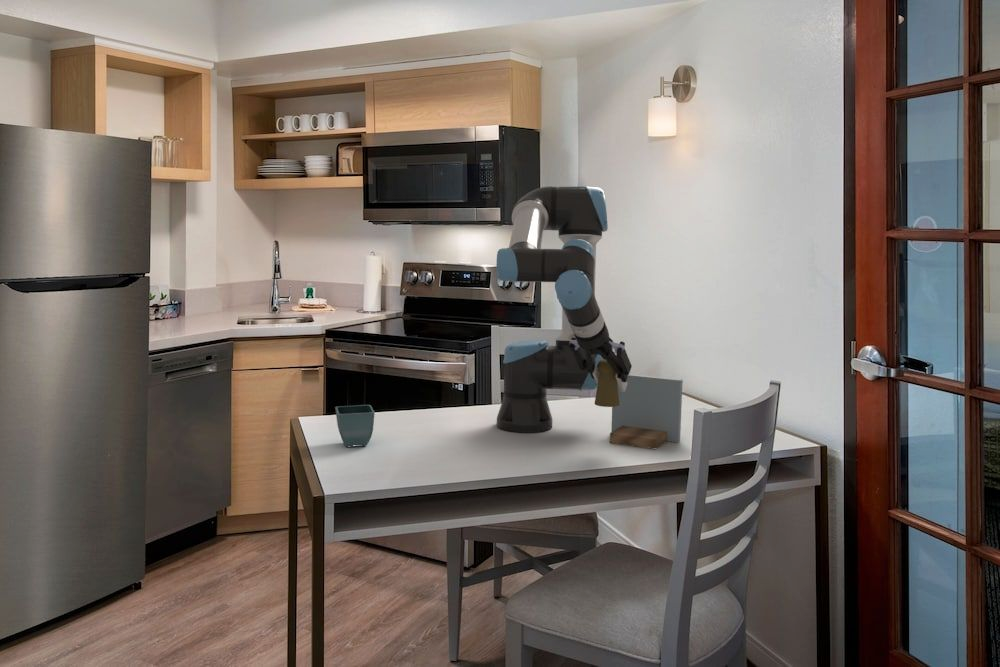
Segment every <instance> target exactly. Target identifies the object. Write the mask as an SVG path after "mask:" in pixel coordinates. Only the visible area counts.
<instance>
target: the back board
mask: <svg viewBox="0 0 1000 667" xmlns="http://www.w3.org/2000/svg"><path fill="white" fill-rule="evenodd" d="M627 376H628V378H627V383H628V384H627V387H626V390H625V392H621V389H620V387H619V384H618V382H617V384H618V394H619V406H616V407H611V432H613V431H614V430H616V429H618V428H619V427H621V426H628V427H636V428H644V429H651V430H659V431H667V441H666V442H670V441H672V442H671V443H677V442H678V443H680V442H681V429H682V428H681V427H682V406H683V405H682V403H683V402H682V401H683V400H682V399H683V381H684V380H683V379H681V378H671V377H662V376H651V375H650V376H649V375H642V374H641V375H640V374H632V373H631V374H630V373H629V375H627ZM611 432H610V433H611ZM679 441H680V442H679Z"/></svg>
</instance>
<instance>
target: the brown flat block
mask: <svg viewBox="0 0 1000 667" xmlns="http://www.w3.org/2000/svg"><path fill="white" fill-rule="evenodd" d="M610 442H612V443H611V444H616V443H619V444H618V445H623V444H627V445H626V446H630V445H634V446H633V447H637V446H641V447H640V448H644V447H650V448H649V449H651V448H657V447H658V448H659V447H661V446H662V445H663V444H665V443H667V442H668V441H667V431H659V430H651V429H644V428H636V427H628V426H621V427H619V428H618V429H616V430H614V431H613V432H610V433H609V443H610ZM664 442H665V443H664ZM661 444H662V445H661ZM660 445H661V446H660ZM658 448H657V449H658Z"/></svg>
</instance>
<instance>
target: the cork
mask: <svg viewBox="0 0 1000 667" xmlns="http://www.w3.org/2000/svg"><path fill="white" fill-rule="evenodd" d="M597 368H598V371H599V379H598V385H597V388H596V392H595V399H594V405H595V406H596V407H597V406H598V407H605V408H612V407H616V406H619V394H618V384H617V379H616V377H615V376H616V372H615V371H614V369H613V368H612V367H611V365H610V364H609V363H608V362H607V360H606V359H605V360H604V359H603V360H600V361H599V362H598V365H597Z"/></svg>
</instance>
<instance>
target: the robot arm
mask: <svg viewBox="0 0 1000 667" xmlns="http://www.w3.org/2000/svg"><path fill="white" fill-rule="evenodd" d="M511 222H512V225H513V228H512V231H511V235H510V236H511V237H510V241H509V246H508V247H506V248H500V249H498V251H497V254H496V263H495V264H496V268H495V269H496V277H497V279H498V280H499V281H503V282H511V283H515V282H516V283H517V282H518V283H519V282H520V283H521V282H522V283H525V282H526V283H528V282H529V283H535V282H536V283H554V290H555V294H556V299H557V300H558V302H559V304H560V305H561V308H562V311H561V312H562V313H561V315H562V316H561V333H560V335H558V336H557V338H556V339H555V345H549V343H548V340H546V339H529V340H527V339H526V340H521V341H515V342H512V343H510V344H508V345H506V347H505V348H504V356H503V357H504V358H503V361H502V362H503V395H502V396H503V398H502V401H501V404H500V406H499V407H500V408H499V410H498V412H497V416H496V427H497V428H499V429H500V430H503V431H508V432H515V433H539V432H545V431H548V430H551V429H553V415H552V413H551V410H550V407H549V403H548V400H547V391H548V390H566V391H567V390H569V391H571V390H573V391H594V390H597V385H598V379H599V371H598V368H597V365H598V362H599V361H600V360H603V359H604V360H605V359H606V360H607V362H608V363H609V364H610V365H611V367H612V368H613V369H614V371H615V372H616V376H615V377H616V379H617V382H618V384H619V387H620V389H621V392H625V390H626V387H627V384H628V383H627V378H628V376H627V375H629V374H630V372H631V369H632V366H633V365H632V363H631V360H630V358H629V356H628V354H627V351H626V349H625V342H624V341H620V342H619V343H617V342H614V340H613V339H612V338H611V337H610V333H609V329H608V327H607V324H606V322H605V319H604V316H603V314H602V312H601V309H600V307H599V304H598V301H597V299H596V268H597V267H596V265H597V264H596V262H597V260H596V259H597V244H598V243H599V242H600V241H601V240H602V238H603V233H604V232H607V231H608V230H609V229H608V227H609V226H608V213H607V205H606V197H605V193H604V190H603V189H602V188H600V187H594V186H588V185H586V186H551V185H549V186H541V187H538V188H535V189H534V190H532V191H529V192H528V193H526V194H524V195H523V196H522V197H521V198H520V199H519V200H518V201H517V202H516V203H515V205H514V207H513V208H512V213H511ZM544 231H556V232H557V231H558V235H557V236H558V237H557V238H558V239H560V241H561V242H562V243H563V246H562V247H561V248H542V241H543V233H544Z"/></svg>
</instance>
